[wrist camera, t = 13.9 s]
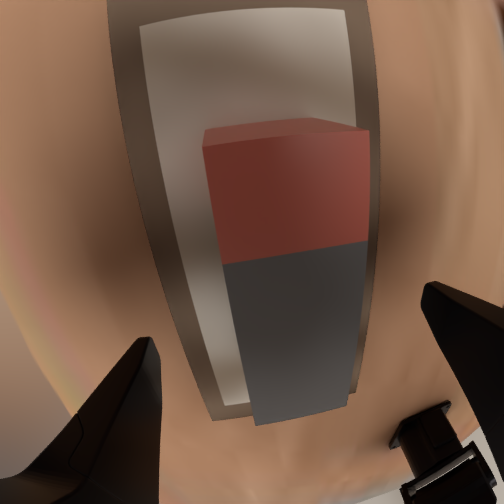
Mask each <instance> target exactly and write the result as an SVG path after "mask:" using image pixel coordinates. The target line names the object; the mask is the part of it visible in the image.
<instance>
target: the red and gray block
mask: <svg viewBox="0 0 504 504" xmlns="http://www.w3.org/2000/svg"><path fill="white" fill-rule="evenodd" d="M202 151H203V157H204V163H205V170H206V176H207V182H208V188H209V194H210V200H211V205H212V211H213V217H214V223H215V228H216V234H217V239H218V245H219V250H220V256H221V261H222V267H223V272H224V277H225V283H226V288H227V293H228V298H229V303H230V308H231V313H232V318H233V323H234V328H235V333H236V338H237V343H238V348H239V353H240V357H241V362H242V367H243V371H244V376H245V381H246V385H247V390H248V394H249V399H250V404H251V408H252V412H253V417H254V421H255V426H258V425H264V424H269V423H275V422H280V421H285V420H290V419H295V418H300V417H304V416H308V415H313V414H317V413H321V412H325V411H329V410H333V409H337V408H340V407H344V406H346V405H347V400H348V395H349V390H350V384H351V379H352V373H353V367H354V361H355V355H356V349H357V342H358V335H359V328H360V320H361V312H362V304H363V295H364V285H365V274H366V262H367V248H368V230H369V205H370V138H369V130H365V129H362V128H358V127H354V126H350V125H345V124H341V123H337V122H332V121H328V120H323V119H318V118H313V117H311V118H297V119H285V120H274V121H265V122H256V123H247V124H239V125H232V126H225V127H218V128H212V129H206V130H205V132H204V138H203V144H202Z"/></svg>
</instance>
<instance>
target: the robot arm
mask: <svg viewBox="0 0 504 504" xmlns="http://www.w3.org/2000/svg"><path fill="white" fill-rule="evenodd" d="M421 309H422V311H423V314H424V316H425V318H426V320H427V322H428V324H429V326H430V328H431V331H432V333H433V335H434V337H435V339H436V341H437V343H438V345H439V347H440V349H441V351H442V352H443V354H444V356H445V358H446V360H447V361H448V363H449V365H450V367H451V369H452V371H453V372H454V374H455V376H456V378H457V380H458V382H459V384H460V386H461V387H462V389H463V391H464V393H465V395H466V397H467V399H468V401H469V403H470V405H471V407H472V409H473V412H474V414H475V416H476V418H477V420H478V422H479V424H480V426H481V429H482V431H483V433H484V435H485V438H486V440H487V442H488V445H489V447H490V449H491V452H492V454H493V457H494V459H495V462H496V464H497V467H498V469H499V472H500V474H501V477H502V480H503V482H504V309H503V308H501V307H498V306H496V305H494V304H491V303H489V302H486V301H484V300H482V299H479V298H477V297H474V296H472V295H470V294H467V293H465V292H462V291H460V290H457V289H455V288H452V287H450V286H447V285H445V284H442V283H440V282H437V281H433V282H429V283H426V284H425V286H424V289H423V294H422V299H421ZM450 406H451V402H450V401H448V402H445V403H443V404H441V405H439V406H437V407H435V408H432V409H430V410H428V411H426V412H423V413H421V414H419V415H416V416H414V417H411V418H409V419H406V420H404V421H403V422H402V423H401V424H400V426H399V428H398V430H397V432H396V434H395V435H394V437H393V439H392V441H391V443H390V445H389V448H390V450H391V449H394V448H397V447H399V446H401V448H402V450H403V452H404V454H405V457H406V459H407V461H408V463H409V465H410V468H411V470H412V472H413V474H414V476H415V479H413V480H412V481H410V482H408V483H405V484H403V485H401V487H402V488H400V489H399V490H400V492H401V495H402V497H403V500H404V504H496V501H497V498H496V496H495V494H494V492H493V489H492V488H493V487H494V486H496V485H497V482H496V480H495V477H494V475H493V473H492V471H491V469H490V468H489V466H488V464H487V463H486V461H485V459H484V457H483V456H482V454H481V452H480V451H479V449H478V448H477V446H476V444H475V443H474V441H471V442H470V443H469V445H467V446H466V447H464V448H463V447H462V445H461V443H460V441H459V439H458V438H457V434H456V433H455V431H454V429H453V427H452V426H451V424H450V422H449V420H448V419H447V417H446V415H445V414H446V413H447V411H448V409H449V408H450ZM77 413H78V414H77ZM77 413H76V414H75V415H74V416H73V418H72V419H71V420H70V421H69V423H68V424H67V425H66V426H65V427H64V428H63V430H62V431H61V432H60V433H59V434H58V435H57V436H56V438H55V439H54V440H53V441H52V442H51V443H50V444H49V445H48V446H47V447H46V448H45V449H44V450H43V451H42V453H40V455H39V456H38V457H37V458H36V459H35V460H34V461H33V462H32V463H31V464H30V465H29V466H28V467H27V468H26V469H25V470H23V471H22V472H21V473H19V474H17V475H15V476H12V477H8V478H3V479H0V504H159V460H160V436H161V418H162V385H161V361H160V356H159V353H158V351H157V349H156V346H155V344H154V342H153V339H152V338H151V337H140V338H138V339H136V341H135V342H134V343H133V344H132V345H131V347H130V348H129V349H128V350H127V351H126V353H125V354H124V355H123V356H122V357H121V359H120V360H119V361H118V362H117V363H116V365H115V366H114V367H113V368H112V369H111V371H110V372H109V373H108V374H107V376H106V377H105V378H104V379H103V380H102V382H101V383H100V384H99V385H98V387H97V388H96V389H95V390H94V391H93V393H92V394H91V395H90V396H89V398H88V399H87V400H86V401H85V403H84V404H83V405H82V406H81V408H80V409H79V410H78V411H77ZM472 454H473V456H474V457H473V458H472V459H469V458H468V457H469V456H471V455H472ZM467 458H468V459H467ZM465 459H467V460H466V461H464V460H465ZM462 461H464V462H463V463H461V462H462ZM459 463H461V464H460V465H458V464H459ZM456 465H458V466H457V467H455V466H456ZM453 467H455V468H454V469H452V468H453ZM450 469H452V470H451V471H449V470H450ZM447 471H449V472H447ZM446 472H447V473H446ZM444 473H446V474H444ZM442 474H444V475H443V476H441V475H442ZM439 476H441V477H439ZM437 477H439V478H438V479H436V478H437ZM434 479H436V480H434ZM432 480H434V481H433V482H431V481H432ZM429 482H431V483H429ZM427 483H429V484H427ZM426 484H427V485H426ZM424 485H426V486H424ZM422 486H424V487H422ZM420 487H422V488H420ZM418 488H420V489H419V490H416V489H418Z"/></svg>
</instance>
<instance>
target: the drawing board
mask: <svg viewBox="0 0 504 504" xmlns="http://www.w3.org/2000/svg"><path fill="white" fill-rule="evenodd" d="M107 11H108V23H109V34H110V44H111V53H112V61H113V69H114V76H115V83H116V90H117V96H118V103H119V109H120V115H121V120H122V126H123V131H124V136H125V142H126V147H127V151H128V156H129V161H130V166H131V170H132V175H133V179H134V184H135V188H136V192H137V196H138V200H139V204H140V209H141V212H142V216H143V220H144V224H145V228H146V232H147V235H148V239H149V243H150V246H151V250H152V253H153V257H154V260H155V263H156V267H157V270H158V274H159V277H160V280H161V283H162V287H163V290H164V293H165V296H166V299H167V302H168V305H169V308H170V311H171V314H172V317H173V320H174V323H175V326H176V329H177V332H178V335H179V337H180V340H181V343H182V346H183V349H184V351H185V354H186V357H187V359H188V362H189V365H190V367H191V370H192V372H193V375H194V378H195V380H196V383H197V385H198V388H199V390H200V393H201V395H202V398H203V400H204V402H205V405H206V407H207V410H208V412H209V414H210V417H211V419H212V421H218V420H226V419H233V418H240V417H247V416H253V412H252V408H251V404H250V399H249V394H248V390H247V385H246V381H245V376H244V371H243V367H242V362H241V357H240V353H239V348H238V343H237V338H236V333H235V328H234V323H233V318H232V313H231V308H230V303H229V298H228V293H227V288H226V283H225V277H224V272H223V267H222V261H221V256H220V250H219V245H218V239H217V234H216V228H215V223H214V217H213V211H212V205H211V200H210V194H209V188H208V182H207V176H206V170H205V163H204V157H203V151H202V144H203V138H204V132H205V130H206V129H212V128H218V127H225V126H232V125H239V124H247V123H256V122H265V121H274V120H285V119H297V118H311V117H313V118H318V119H323V120H328V121H332V122H337V123H341V124H345V125H350V126H354V127H358V128H362V129H365V130H369V138H370V205H369V230H368V248H367V262H366V274H365V285H364V295H363V304H362V312H361V320H360V328H359V335H358V342H357V349H356V355H355V361H354V367H353V373H352V379H351V384H350V390H349V394H352V393H355V392H356V388H357V384H358V379H359V374H360V369H361V363H362V358H363V352H364V347H365V341H366V335H367V328H368V322H369V315H370V307H371V300H372V292H373V283H374V274H375V263H376V252H377V239H378V223H379V202H380V123H379V102H378V88H377V75H376V65H375V55H374V47H373V39H372V31H371V24H370V18H369V12H368V6H367V0H107Z"/></svg>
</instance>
